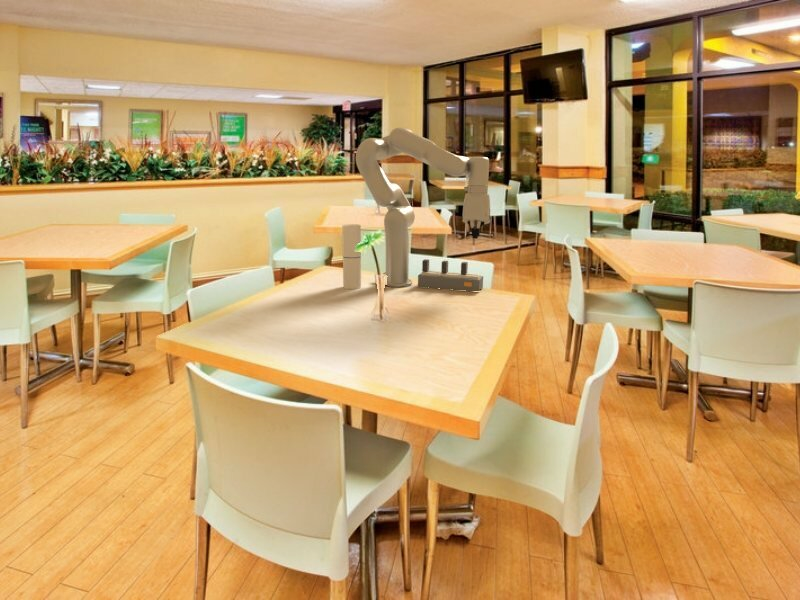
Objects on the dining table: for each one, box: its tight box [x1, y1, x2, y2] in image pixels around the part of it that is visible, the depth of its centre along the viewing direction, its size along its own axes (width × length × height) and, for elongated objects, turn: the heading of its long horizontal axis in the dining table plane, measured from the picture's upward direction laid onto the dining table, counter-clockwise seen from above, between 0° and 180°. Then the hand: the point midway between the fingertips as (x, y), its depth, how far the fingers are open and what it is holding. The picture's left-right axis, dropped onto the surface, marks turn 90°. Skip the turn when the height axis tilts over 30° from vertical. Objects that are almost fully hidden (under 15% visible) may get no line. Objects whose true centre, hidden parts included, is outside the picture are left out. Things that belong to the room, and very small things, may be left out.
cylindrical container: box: [341, 223, 362, 290], centre depth 217 cm, size 7×7×25 cm
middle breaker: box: [440, 260, 449, 273], centre depth 219 cm, size 2×3×4 cm, turn 161°
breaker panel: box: [417, 270, 484, 292], centre depth 220 cm, size 25×8×6 cm, turn 72°
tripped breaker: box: [460, 261, 469, 275], centre depth 217 cm, size 2×3×4 cm, turn 161°
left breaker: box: [421, 259, 430, 272], centre depth 222 cm, size 2×3×4 cm, turn 162°
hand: (475, 238), depth 213 cm, fingers closed
